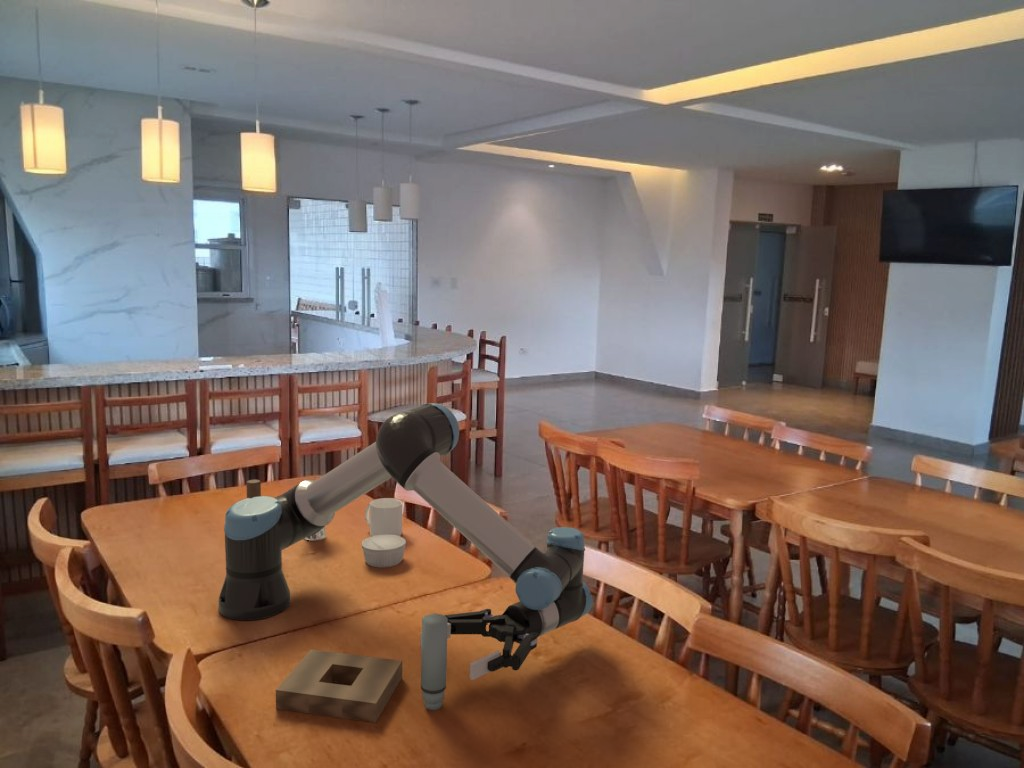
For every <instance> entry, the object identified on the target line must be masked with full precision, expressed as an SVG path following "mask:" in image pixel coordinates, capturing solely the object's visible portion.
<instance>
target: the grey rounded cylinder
mask: <svg viewBox="0 0 1024 768" xmlns="http://www.w3.org/2000/svg"><path fill="white" fill-rule="evenodd" d="M447 622H448V619H447V617H446V616H444V614H441V613H440V614H439V613H431V614H427V615H424V616H423V617H422V618H421V633H422V645H421V647H420V648H421V649H420V650H421V652H420V653H421V654H420V656H421V657H420V658H421V662H420V690H421V691H422V698H421V699H422V700H423V701H424V708H425V709H427V710H429V711H437V710H439V709H441V708H442V705H443V701H444V699H445V690H446V688H447V673H448V672H447V666H448V665H447V663H448V661H447V660H448V639H447Z"/></svg>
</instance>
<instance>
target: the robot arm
mask: <svg viewBox="0 0 1024 768" xmlns="http://www.w3.org/2000/svg"><path fill="white" fill-rule="evenodd" d="M459 437H460V427H459V422H458V420H457V417H456V416H455V414H454V413H453V412H452V411H451V410H450V409H449V408H447V406H446V405H443V404H441V403H438V402H437V403H436V402H435V403H434V402H431V403H423V404H422V405H420V406H417V407H413V408H412V409H407V410H405V411H402V412H398V413H395V414H393V415H391V416H389V417H388V418H386V419H385V420H384V422H382V424H381V426H379V428H378V431H377V434H376V439H375V442H373V443H371V444H370V445H369V446H367V447H365V448H364V449H362V450H361V451H359V452H358V453H356V454H355V455H353V456H351V457H350V458H348V459H347V460H345V461H344V462H342V463H341V464H339V465H338V466H336V467H334V468H333V469H332V470H330V471H328V472H326V473H325V474H324V475H322V476H321V477H319V478H318V479H316V480H313V479H306V480H303V481H301V482H300V483H298V484H296V485H295V486H293V487H292V488H290V489H288V490H287V491H285V492H284V493H282V494H279V495H278V496H276V497H272V496H269V495H267V496H266V495H261V496H257V497H253V498H247V497H246V498H243V499H241V500H238V501H237V502H235V503H234V504H231V505H230V507H228V509H227V511H226V512H225V517H224V526H223V532H224V551H225V572H226V573H225V577H224V581H223V583H222V588H221V590H220V593H219V596H218V612H219V613H220V614H221V616H223V617H225V618H228V619H232V620H235V621H236V620H237V621H256V620H262V619H266V618H270V617H274V616H275V615H278V614H281V613H282V612H283V611H285V610H287V608H289V606H290V604H291V590H290V588H289V585H288V582H287V580H286V577H285V573H284V572H283V567H282V566H283V563H282V560H283V559H282V551H283V550H286V549H287V548H289V547H290V546H291V547H292V546H293V545H294V544H297V543H298V542H300V541H303V540H305V539H304V538H306V537H308V536H312V535H314V534H316V533H318V532H319V531H320V530H321V529H322V528H324V527H326V526H327V525H329V524H330V523H331V522H332V521H333V520H334V517H335V513H336V512H338V511H340V510H341V509H343V508H345V507H346V506H347V505H349V504H351V503H352V502H354V501H356V500H357V499H359V498H360V497H362V496H364V495H365V494H367V493H369V492H370V491H372V490H374V489H376V487H377V488H378V487H379V486H380V485H382V484H383V483H385V482H387V481H389V480H390V479H393V480H394V481H395V482H396V483H397V484H398V485H399V486H401V487H402V488H403V490H405V491H413V492H415V493H416V494H417V495H418V496H419V497H420V498H421V499H423V500H424V501H425V503H427V504H428V505H429V506H430V507H432V509H434V510H435V511H436V512H437V513H438V515H440V516H441V517H443V519H445V521H447V522H448V523H449V524H450V525H451V526H452V527H453V528H454V529H456V530H457V531H458V532H459V533H460V534H461V535H462V536H464V537H465V538H466V539H467V540H468V541H469V542H470V543H471V544H472V545H473V546H474V547H475V548H476V549H478V550H479V551H480V552H481V553H482V554H483V555H484V556H485V557H486V558H487V559H488V560H489V561H491V562H492V563H493V564H494V565H495V566H497V568H499V569H500V571H502V572H503V573H504V574H505V575H506V576H507V577H508V578H510V579H511V580H512V581H513V583H514V584H515V594H516V596H517V598H518V600H519V601H518V602H515V603H512V604H510V605H509V606H507V608H506V609H505V610H504V611H503V613H502V614H498V615H493V613H492V609H491V608H486V609H482V610H478V611H477V610H476V611H469V612H468V611H467V612H462V613H453V614H445V615H444V614H443V615H444V616H446V617H447V619H448V622H447V640H448V639H450V638H451V635H481V636H482V637H483V638H487V637H489V638H493V639H495V640H497V641H498V642H500V643H502V642H503V643H504V644H503V648H502V651H500V650H496V651H494V652H492V653H490V654H487V655H486V656H483V657H481V658H479V659H477V660H475V661H472V662H470V663H469V679H470V680H472V681H474V680H476V679H478V678H481V677H482V676H484V675H486V674H488V673H490V672H491V673H492V672H495V671H496V672H497V671H498V670H500V669H502V668H509V667H511V669H512V671H515V672H516V671H519V670H520V668H521V667H522V665H523V663H524V662H525V661H526V659H527V657H528V655H529V654H530V653H531V651H533V650H534V649H536V648H537V646H538V638H539V637H542V636H544V635H545V634H546V635H547V633H551V632H552V631H555V630H557V629H559V628H561V627H563V626H565V625H569V624H570V623H573V622H575V621H577V620H579V619H580V618H583V617H584V616H585V615H587V614H588V613H590V611H591V609H592V606H593V602H594V601H593V596H592V594H591V593H592V592H591V589H590V587H589V586H588V585H587V584H586V583H585V582H584V581H583V578H584V567H585V566H584V563H585V562H584V561H585V552H586V547H585V535H584V533H583V531H581V530H580V529H577V528H574V527H569V526H560V527H559V526H557V527H554V528H552V529H550V530H549V531H548V533H547V538H546V539H547V541H546V543H545V544H546V550H545V551H544V552H542V551H540V549H538V548H537V547H536V546H535V545H534V544H533V543H532V542H530V541H529V540H528V539H527V538H525V536H524V535H523V534H521V533H520V532H519V531H518V530H517V529H516V528H515V527H514V526H513V525H512V524H511V523H509V521H507V520H506V519H505V518H504V517H502V515H500V514H499V512H497V511H496V510H495V509H494V508H493V507H491V505H489V504H488V503H487V501H485V500H484V499H482V498H481V496H480V495H478V494H477V493H476V492H475V491H473V489H472V488H470V487H469V486H468V485H467V484H466V483H465V482H464V481H463V480H462V479H460V478H459V477H458V476H457V475H456V474H455V473H454V472H452V471H451V470H450V469H449V468H448V467H447V466H446V465H445V464H444V463H443V462H442V461H441V457H442V456H446V455H448V454H449V453H451V451H453V450H454V449H455V447H456V446H457V444H458V442H459ZM487 626H488V630H487ZM419 642H420V648H421V645H422V632H420V641H419ZM514 643H516V644H519V645H518V647H517V648H516V649H515V651H514V652H513V654H512V651H513V650H514V649H513V648H514Z"/></svg>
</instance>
